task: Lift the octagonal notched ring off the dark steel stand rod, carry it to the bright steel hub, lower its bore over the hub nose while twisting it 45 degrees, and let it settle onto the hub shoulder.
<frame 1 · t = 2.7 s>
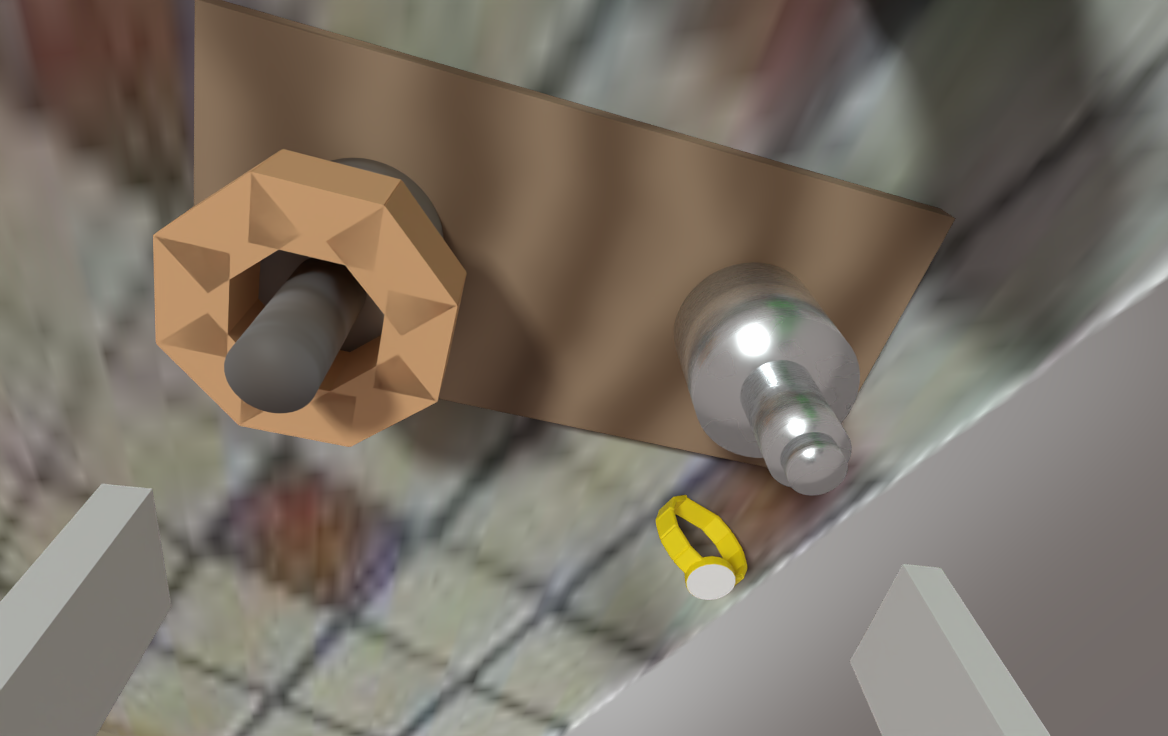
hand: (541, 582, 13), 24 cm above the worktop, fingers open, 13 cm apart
tool board: (563, 272, 35), on the worktop
watch: (693, 509, 44), on the worktop
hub: (737, 315, 37), resting on tool board
octagonal notched ring: (329, 289, 27), point 7 cm above the worktop, touching tool board
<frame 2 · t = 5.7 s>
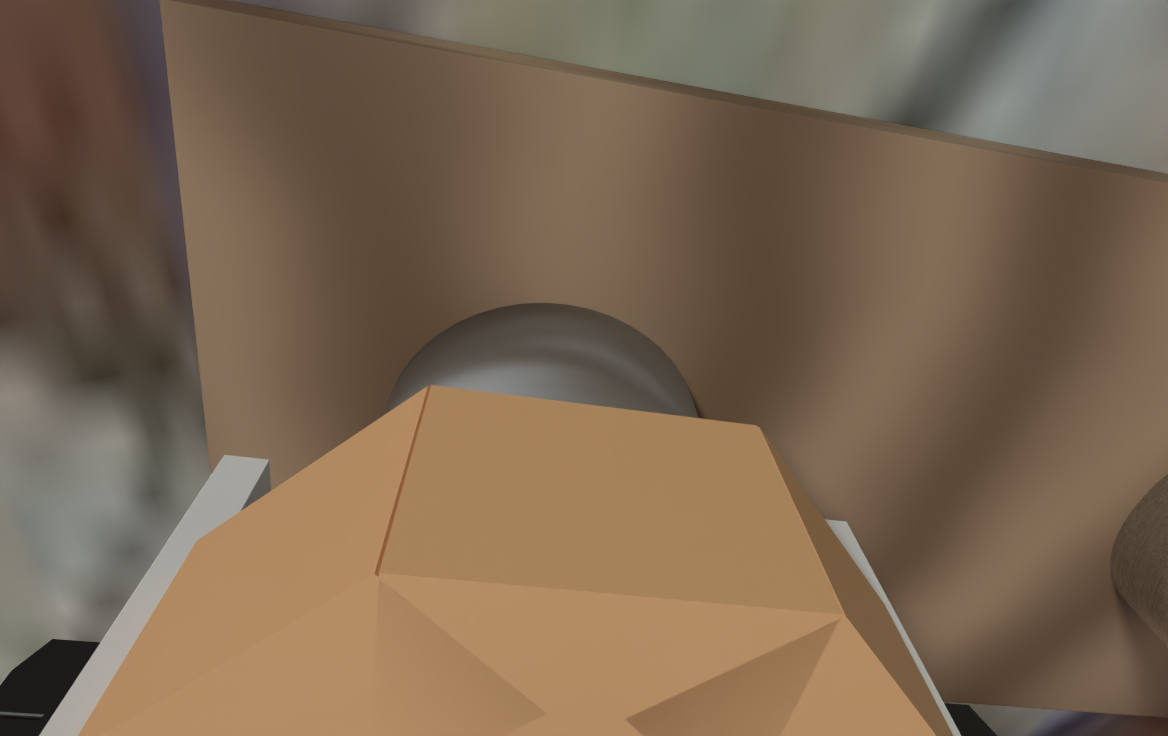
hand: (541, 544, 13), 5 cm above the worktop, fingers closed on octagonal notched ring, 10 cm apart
tool board: (894, 451, 19), on the worktop
octagonal notched ring: (541, 668, 11), point 8 cm above the worktop, touching gripper, tool board
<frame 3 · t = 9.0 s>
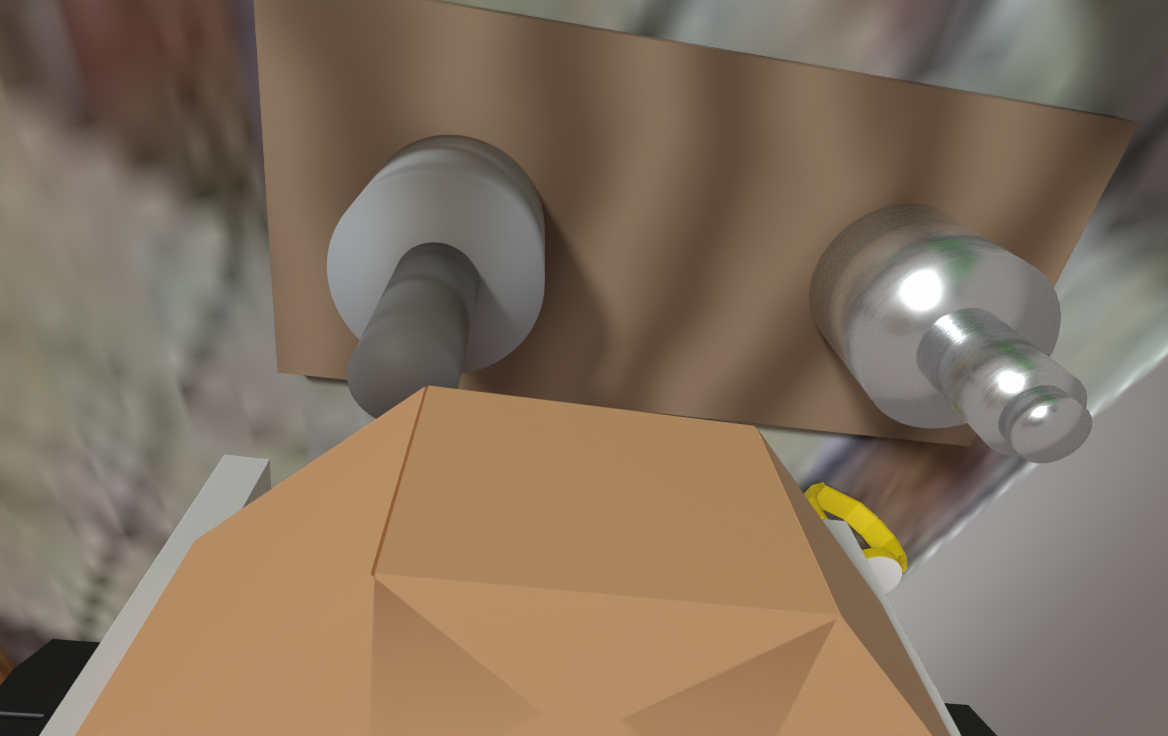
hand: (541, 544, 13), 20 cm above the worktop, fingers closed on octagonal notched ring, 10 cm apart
tool board: (676, 243, 31), on the worktop
watch: (831, 497, 39), on the worktop
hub: (876, 271, 32), resting on tool board
octagonal notched ring: (538, 668, 11), point 22 cm above the worktop, touching gripper
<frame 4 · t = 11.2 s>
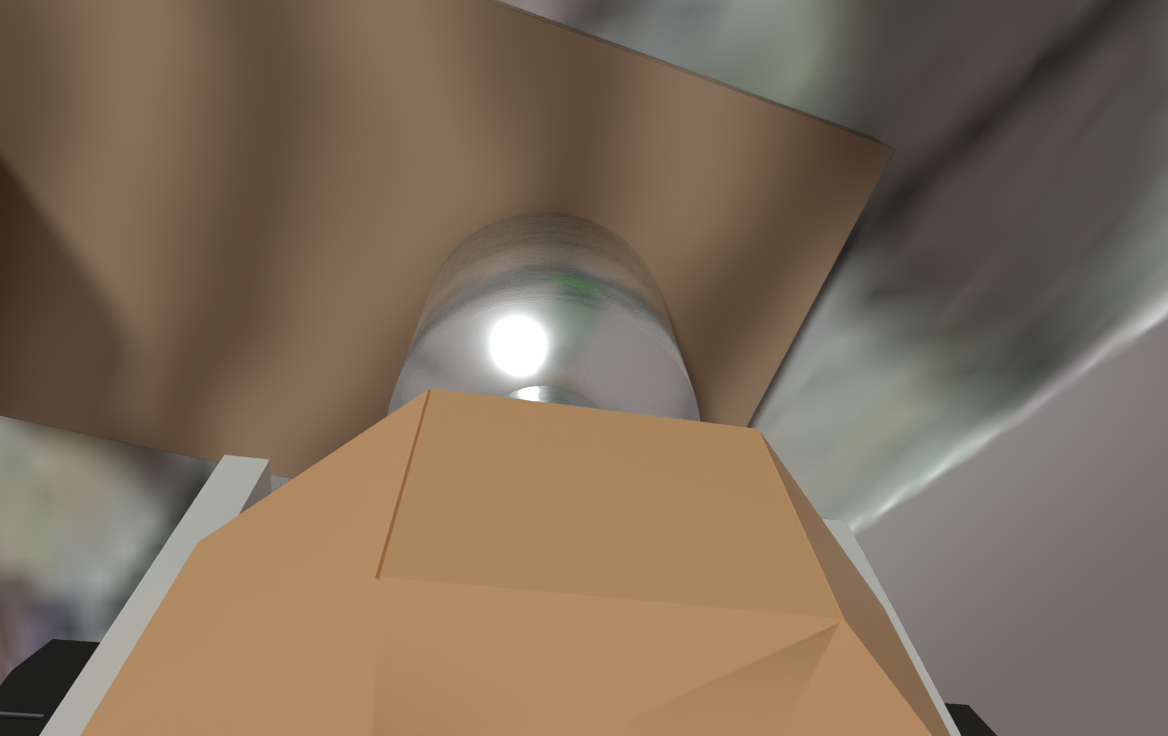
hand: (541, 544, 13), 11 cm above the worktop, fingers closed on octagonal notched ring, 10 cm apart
tool board: (239, 220, 21), on the worktop
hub: (546, 306, 23), resting on tool board
octagonal notched ring: (540, 670, 11), point 13 cm above the worktop, touching gripper
when the fingers open (6 cm above the worktop, at t = 12.8 s): octagonal notched ring stays where it is, resting on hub.
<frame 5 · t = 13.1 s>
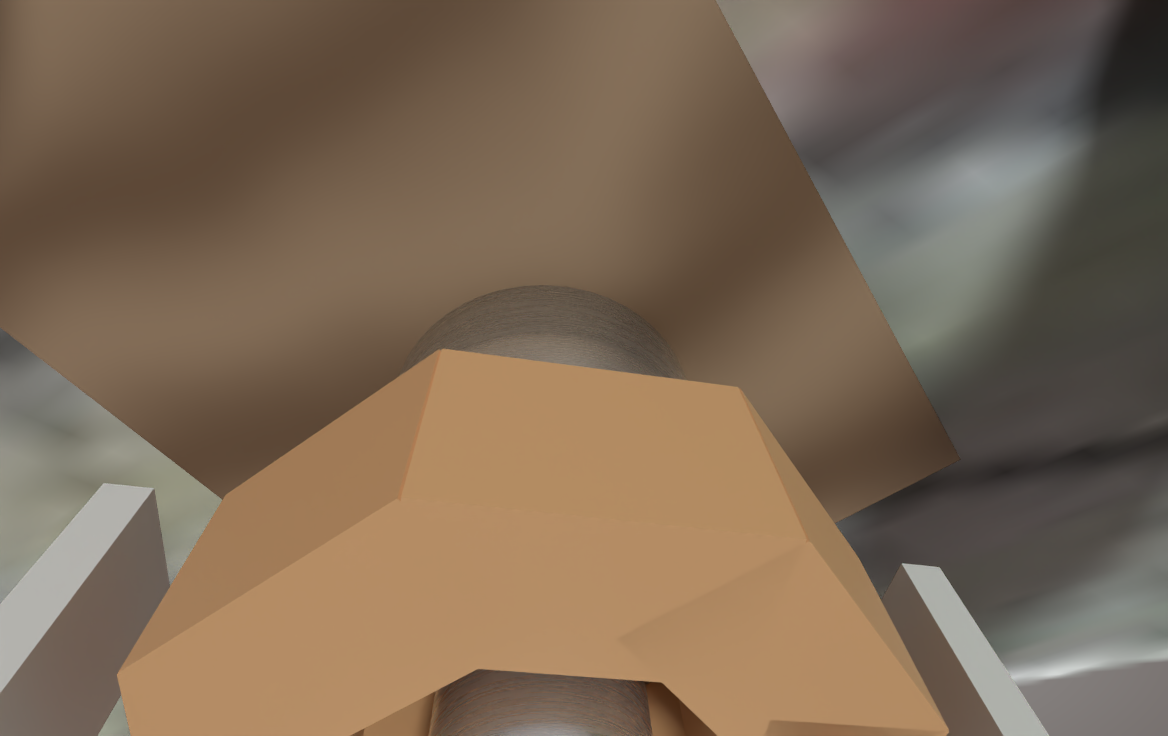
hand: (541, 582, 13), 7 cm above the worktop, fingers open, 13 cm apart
tool board: (266, 71, 14), on the worktop
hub: (544, 389, 18), resting on tool board
octagonal notched ring: (541, 619, 12), point 7 cm above the worktop, touching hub
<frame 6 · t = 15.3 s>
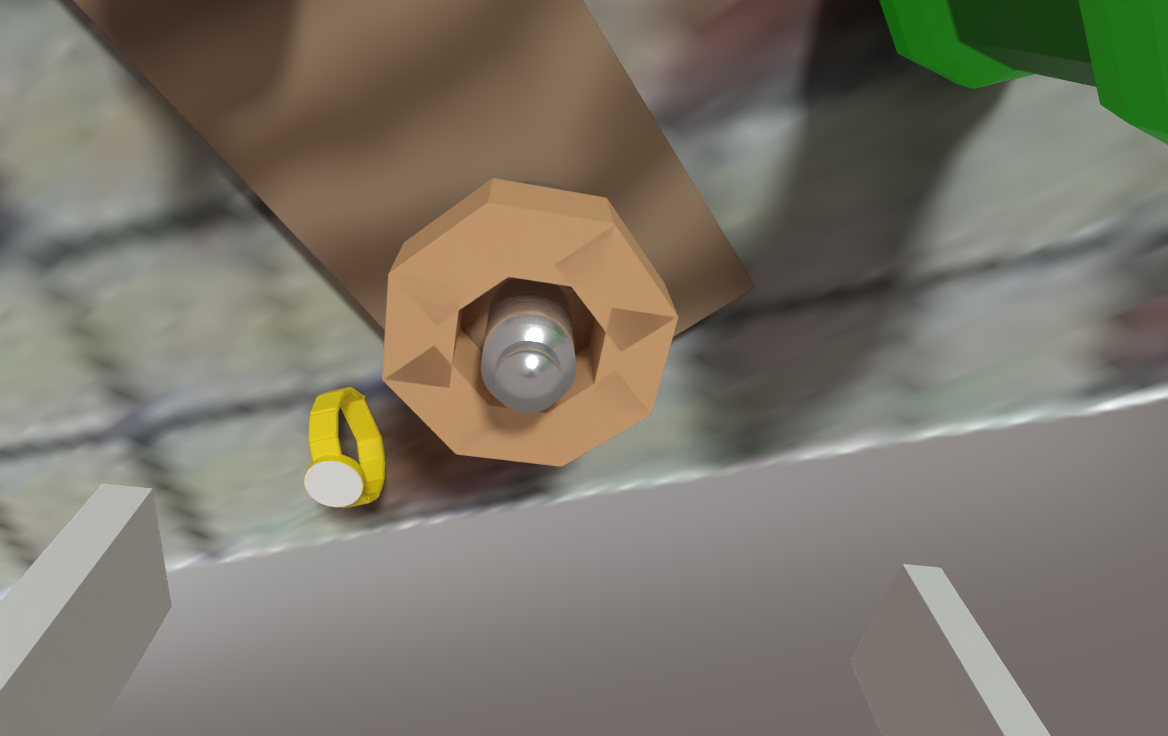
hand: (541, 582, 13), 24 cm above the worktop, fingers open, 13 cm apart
tool board: (399, 73, 30), on the worktop
watch: (361, 416, 39), on the worktop
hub: (531, 247, 34), resting on tool board
octagonal notched ring: (529, 312, 28), point 7 cm above the worktop, touching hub
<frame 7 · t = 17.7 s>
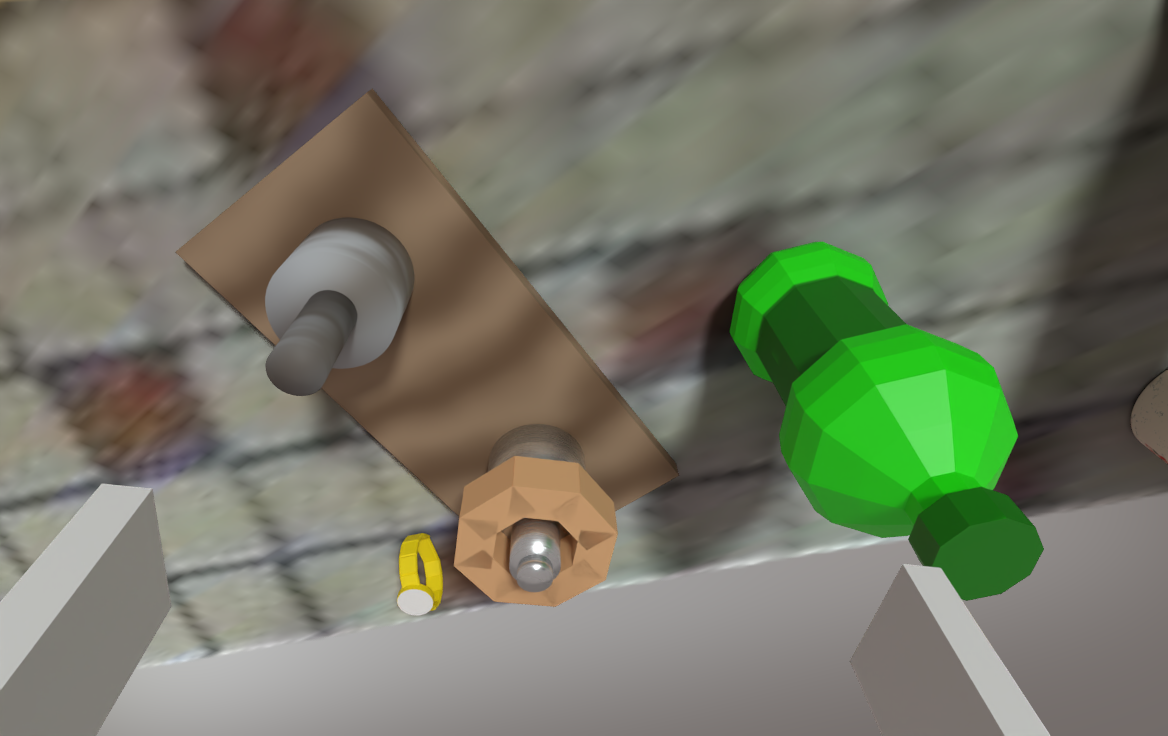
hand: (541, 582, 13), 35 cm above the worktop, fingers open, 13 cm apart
tool board: (457, 365, 50), on the worktop
plastic bottle: (788, 292, 49), on the worktop
watch: (427, 546, 59), on the worktop
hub: (537, 451, 54), resting on tool board
octagonal notched ring: (535, 517, 48), point 7 cm above the worktop, touching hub
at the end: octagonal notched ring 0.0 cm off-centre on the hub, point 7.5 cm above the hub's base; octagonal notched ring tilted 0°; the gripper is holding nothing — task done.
